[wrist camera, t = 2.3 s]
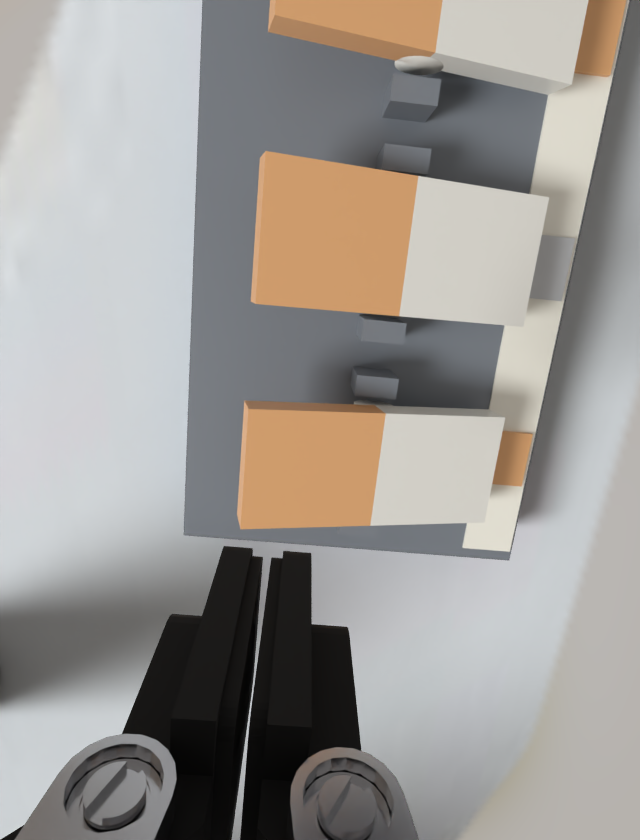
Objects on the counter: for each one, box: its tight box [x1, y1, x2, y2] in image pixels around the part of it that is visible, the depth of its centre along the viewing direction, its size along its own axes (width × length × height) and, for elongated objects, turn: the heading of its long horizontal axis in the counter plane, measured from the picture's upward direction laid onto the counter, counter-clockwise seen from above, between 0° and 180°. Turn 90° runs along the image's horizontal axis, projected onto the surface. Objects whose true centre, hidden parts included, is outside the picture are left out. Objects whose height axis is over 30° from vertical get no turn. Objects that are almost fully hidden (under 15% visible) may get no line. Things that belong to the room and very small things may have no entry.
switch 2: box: [251, 151, 549, 327], centre depth 19 cm, size 4×10×2 cm, turn 84°
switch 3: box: [237, 400, 505, 529], centre depth 21 cm, size 4×10×2 cm, turn 84°
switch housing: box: [184, 0, 631, 560], centre depth 21 cm, size 26×15×5 cm, turn 174°
